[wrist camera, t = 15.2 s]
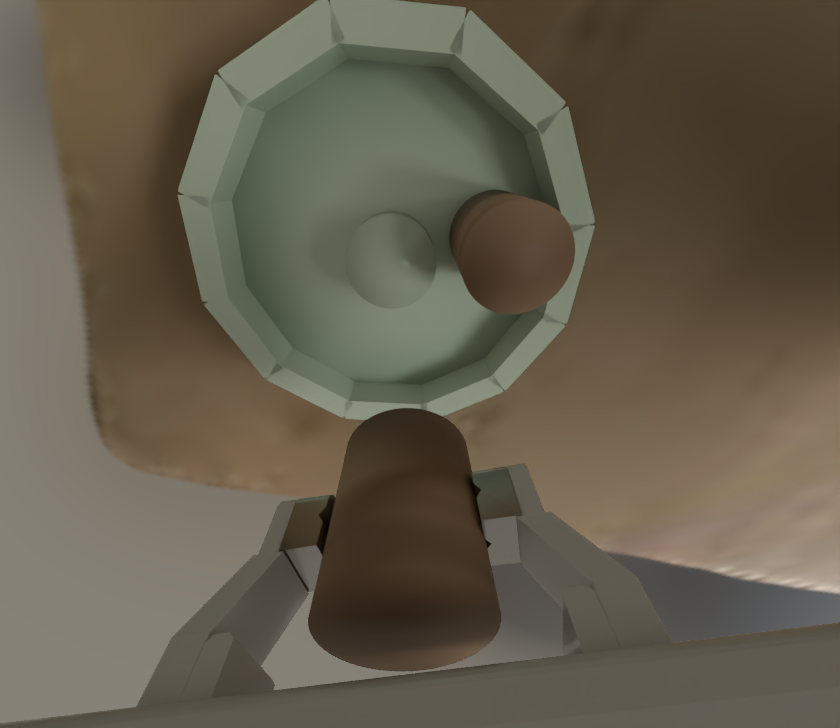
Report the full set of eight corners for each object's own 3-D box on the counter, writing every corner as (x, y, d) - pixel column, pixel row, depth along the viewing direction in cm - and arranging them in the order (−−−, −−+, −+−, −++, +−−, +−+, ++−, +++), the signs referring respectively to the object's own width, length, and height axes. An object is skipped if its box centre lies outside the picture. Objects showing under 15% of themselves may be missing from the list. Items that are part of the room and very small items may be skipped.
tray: (635, 201, 17) (675, 207, 15) (434, 432, 24) (436, 464, 21) (316, -95, 13) (291, -164, 10) (175, 295, 19) (137, 316, 17)
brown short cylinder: (458, 397, 11) (491, 554, 6) (474, 489, 13) (507, 659, 8) (330, 420, 11) (277, 585, 7) (364, 506, 13) (341, 680, 9)
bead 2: (444, 197, 16) (455, 210, 12) (533, 182, 16) (578, 189, 12) (453, 283, 18) (466, 321, 14) (533, 271, 18) (572, 306, 14)
